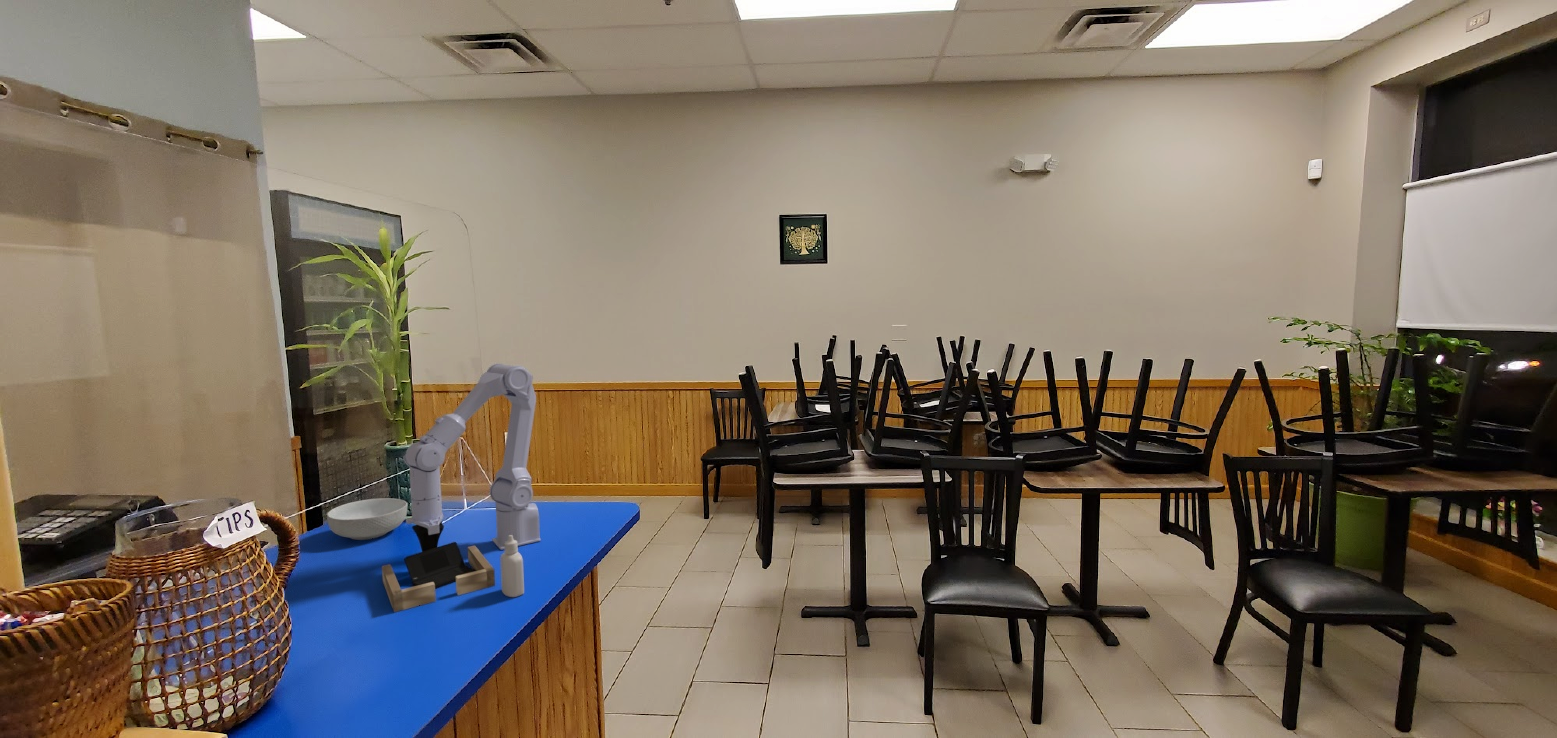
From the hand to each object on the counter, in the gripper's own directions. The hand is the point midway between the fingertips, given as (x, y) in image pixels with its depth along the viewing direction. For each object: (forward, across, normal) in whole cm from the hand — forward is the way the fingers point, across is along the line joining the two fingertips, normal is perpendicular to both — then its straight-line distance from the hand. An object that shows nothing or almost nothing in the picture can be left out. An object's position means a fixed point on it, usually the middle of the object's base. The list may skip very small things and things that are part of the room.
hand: (429, 556), depth 135 cm
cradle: (+3, +9, 0) cm, 9 cm away
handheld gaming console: (+3, +6, +1) cm, 7 cm away
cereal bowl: (+3, -33, -8) cm, 34 cm away
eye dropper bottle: (+3, +23, +11) cm, 26 cm away
